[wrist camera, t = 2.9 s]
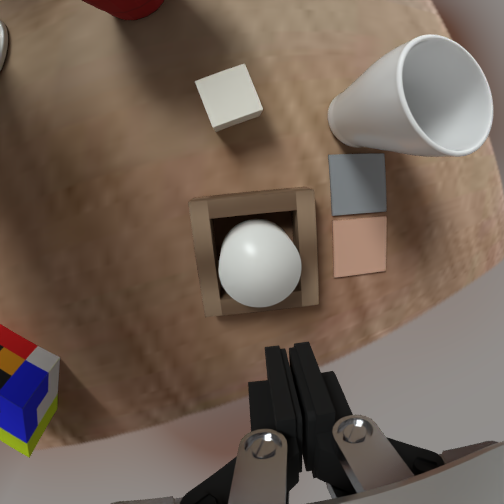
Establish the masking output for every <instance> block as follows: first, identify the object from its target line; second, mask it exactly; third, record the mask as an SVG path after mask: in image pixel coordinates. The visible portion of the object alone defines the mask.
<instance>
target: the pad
mask: <svg viewBox="0 0 504 504" xmlns="http://www.w3.org/2000/svg"><path fill="white" fill-rule="evenodd" d="M332 233H333V277H334V278H336V277H344V276H351V275H359V274H366V273H374V272H381V271H386V234H387V217H386V216H379V217H366V218H354V219H343V220H332Z"/></svg>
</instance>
